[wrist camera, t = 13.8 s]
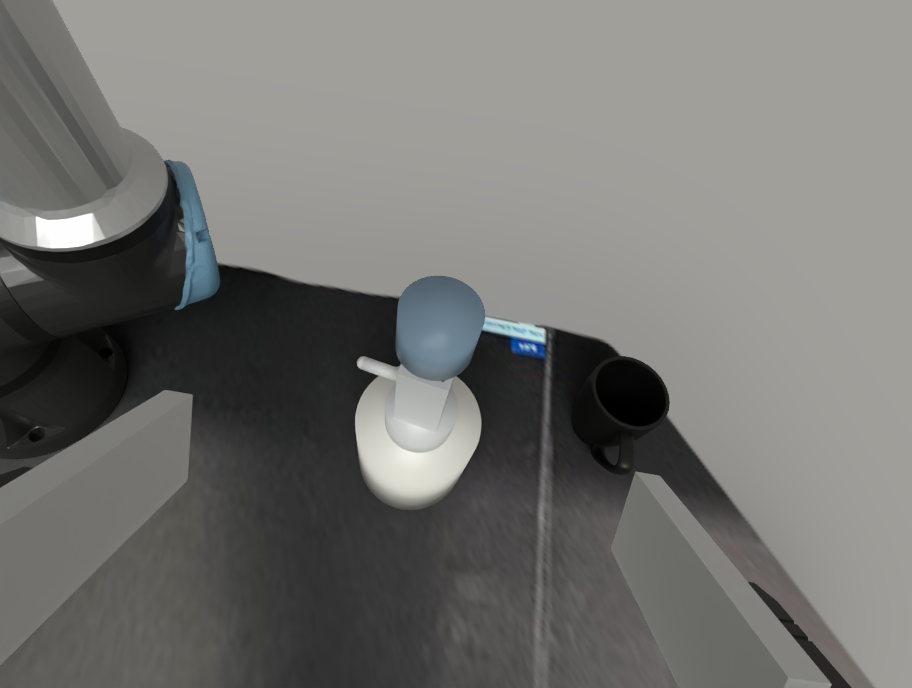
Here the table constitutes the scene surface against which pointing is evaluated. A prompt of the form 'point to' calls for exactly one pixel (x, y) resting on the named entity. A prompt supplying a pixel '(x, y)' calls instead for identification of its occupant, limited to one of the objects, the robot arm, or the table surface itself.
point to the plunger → (438, 327)
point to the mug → (619, 409)
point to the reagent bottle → (414, 435)
